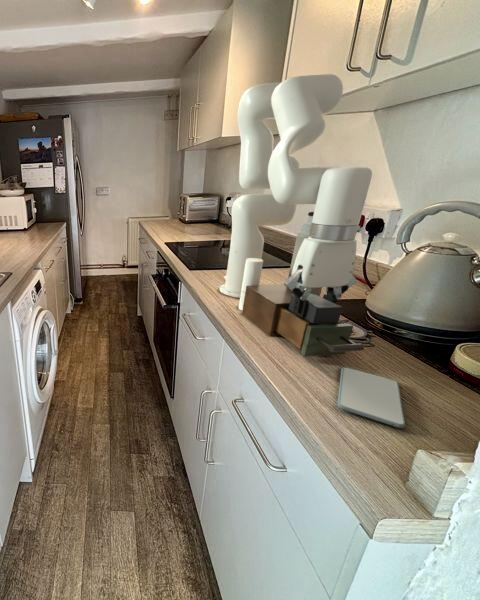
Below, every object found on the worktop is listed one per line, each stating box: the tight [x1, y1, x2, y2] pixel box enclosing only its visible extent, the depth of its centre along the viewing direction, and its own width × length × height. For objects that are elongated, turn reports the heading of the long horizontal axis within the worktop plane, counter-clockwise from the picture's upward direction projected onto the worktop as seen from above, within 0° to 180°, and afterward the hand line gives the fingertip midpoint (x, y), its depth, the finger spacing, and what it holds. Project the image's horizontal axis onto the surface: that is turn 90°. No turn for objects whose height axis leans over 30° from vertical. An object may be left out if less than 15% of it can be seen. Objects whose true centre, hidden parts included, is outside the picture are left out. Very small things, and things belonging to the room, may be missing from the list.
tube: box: [238, 258, 264, 312], centre depth 91 cm, size 4×4×15 cm
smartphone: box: [336, 366, 406, 429], centre depth 56 cm, size 8×1×15 cm
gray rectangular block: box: [289, 293, 343, 324], centre depth 70 cm, size 6×8×4 cm
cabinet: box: [241, 283, 293, 337], centre depth 83 cm, size 14×10×9 cm
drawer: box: [274, 306, 365, 357], centre depth 70 cm, size 17×9×7 cm, turn 2°
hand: (312, 313), depth 71 cm, fingers closed on gray rectangular block, 5 cm apart
